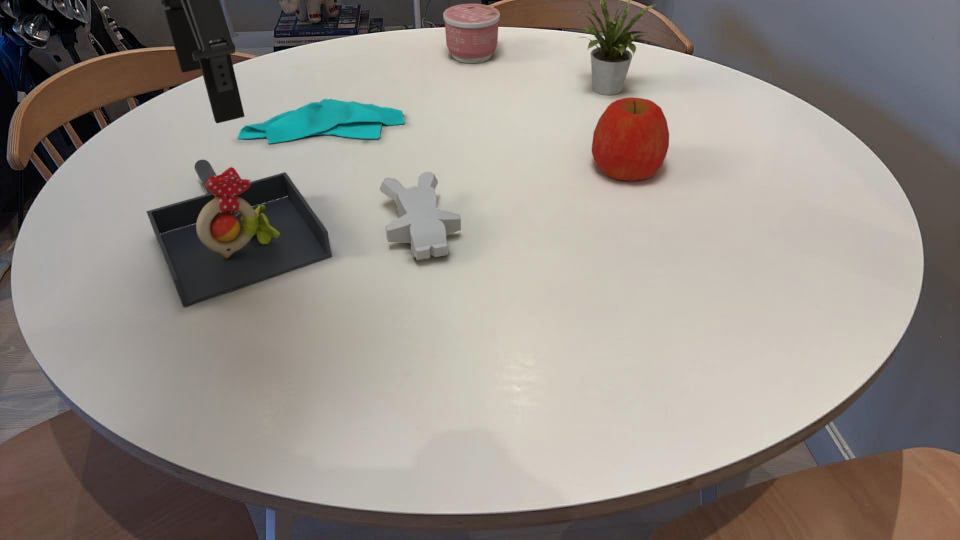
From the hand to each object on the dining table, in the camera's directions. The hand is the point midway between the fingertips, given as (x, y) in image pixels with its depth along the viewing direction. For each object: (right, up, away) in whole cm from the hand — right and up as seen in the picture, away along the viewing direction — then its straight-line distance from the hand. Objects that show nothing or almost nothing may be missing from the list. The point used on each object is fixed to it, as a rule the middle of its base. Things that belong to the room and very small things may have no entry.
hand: (211, 92), depth 72 cm
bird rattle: (-2, -16, +15) cm, 22 cm away
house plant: (+49, +14, +51) cm, 72 cm away
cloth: (+3, +6, +42) cm, 42 cm away
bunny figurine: (+20, -13, +19) cm, 31 cm away
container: (+26, +23, +62) cm, 71 cm away
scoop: (-5, -12, +20) cm, 24 cm away
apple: (+49, -3, +31) cm, 58 cm away
